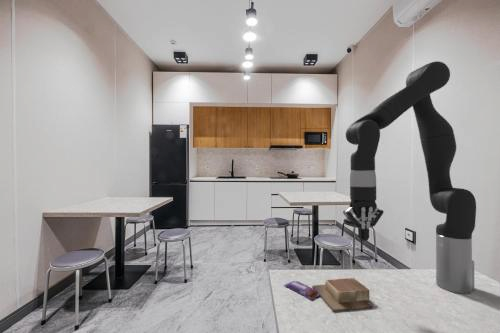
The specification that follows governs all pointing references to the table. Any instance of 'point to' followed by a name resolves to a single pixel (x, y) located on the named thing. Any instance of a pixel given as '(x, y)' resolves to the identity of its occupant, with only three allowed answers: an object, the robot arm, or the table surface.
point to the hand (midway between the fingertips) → (363, 240)
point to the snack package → (303, 289)
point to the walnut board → (343, 305)
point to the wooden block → (346, 290)
